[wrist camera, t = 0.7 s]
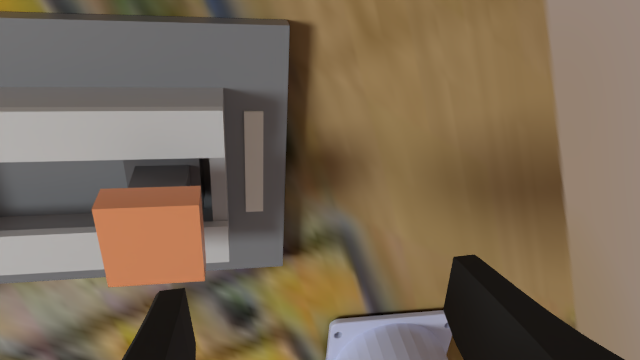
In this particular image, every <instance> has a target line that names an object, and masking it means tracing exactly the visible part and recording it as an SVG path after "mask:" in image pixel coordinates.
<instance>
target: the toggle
mask: <svg viewBox="0 0 640 360" xmlns="http://www.w3.org/2000/svg"><path fill="white" fill-rule="evenodd" d="M123 163H124V169H125V175H126V181H127V187H128V188H112V189H100V191H99V193H98V195H97V198H96V200H95V202H94V205H93V207H92V214H93V218H94V223H95V228H96V232H97V237H98V241H99V246H100V251H101V255H102V260H103V265H104V269H105V274H106V278H107V283H108V287H120V286H135V285H150V284H166V283H181V282H196V281H205V270H206V251H205V237H204V224H203V212H204V198H205V188H204V174H203V160H202V158H185V159H139V160H123Z"/></svg>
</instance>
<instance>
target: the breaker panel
mask: <svg viewBox="0 0 640 360" xmlns="http://www.w3.org/2000/svg"><path fill="white" fill-rule="evenodd" d="M289 32H290V25H289V23H288V21H287V20H277V19H243V18H208V17H173V16H139V15H104V14H69V13H35V12H0V284H1V283H17V282H33V281H49V280H65V279H81V278H97V277H106V274H105V269H104V265H103V260H102V255H101V251H100V246H99V241H98V237H97V232H96V228H95V223H94V218H93V214H92V207H93V205H94V202H95V200H96V198H97V195H98V193H99V191H100V189H112V188H128V187H127V181H126V175H125V169H124V163H123V160H139V159H185V158H202V160H203V174H204V188H205V198H204V212H203V224H204V237H205V251H206V270H205V271H209V270H225V269H241V268H258V267H274V266H283V232H284V199H285V166H286V132H287V99H288V66H289Z"/></svg>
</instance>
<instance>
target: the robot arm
mask: <svg viewBox="0 0 640 360" xmlns="http://www.w3.org/2000/svg"><path fill="white" fill-rule="evenodd" d="M337 332H339V333H337ZM452 335H453V338H454V340H455V343H456V345H457V347H458V349H459V351H460V353H461V355H462V357H463V359H464V360H624V359H622V358H621V357H619V356H617V355H616V354H614V353H612V352H611V351H609V350H607V349H606V348H604V347H602V346H601V345H599V344H597V343H596V342H594V341H592V340H590V339H589V338H587V337H586V336H584V335H583V334H581V333H580V332H578V331H577V330H575V329H574V328H572V327H571V326H569V325H568V324H566V323H565V322H564V321H562V320H561V319H559V318H558V317H556V316H555V315H553V314H552V313H551V312H549V311H548V310H546V309H545V308H544V307H542V306H541V305H540V304H538V303H537V302H535V301H534V300H533V299H531V298H530V297H529V296H527V295H526V294H525V293H524V292H522V291H521V290H520V289H518V288H517V287H516V286H514V285H513V284H512V283H511V282H509V281H508V280H507V279H506V278H504V277H503V276H502V275H500V274H499V273H498V272H497V271H495V270H494V269H493V268H492V267H490V266H489V265H488V264H486V263H485V262H484V261H482V260H481V259H480V258H478V257H477V256H476V255H466V256H458V257H454V258H453V263H452V268H451V273H450V278H449V283H448V289H447V294H446V299H445V304H444V309H443V310H439V311H427V312H415V313H403V314H391V315H379V316H367V317H355V318H343V319H335V320H333V321H332V322H331V323H330V325H329V335H328V344H327V354H326V360H448V358H447V356H446V354H447V351H448V348H449V344H450V341H451V337H452ZM195 357H196V342H195V337H194V332H193V327H192V322H191V317H190V312H189V307H188V302H187V297H186V292H185V288H181V289H172V290H164V291H159V292H158V293H157V294H156V296H155V298H154V301H153V303H152V305H151V307H150V309H149V311H148V313H147V315H146V317H145V319H144V321H143V323H142V325H141V327H140V329H139V331H138V332H137V334H136V336H135V338H134V340H133V341H132V343H131V345H130V347H129V348H128V350H127V352H126V354H125V355H124V357H123V359H122V360H195Z"/></svg>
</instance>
